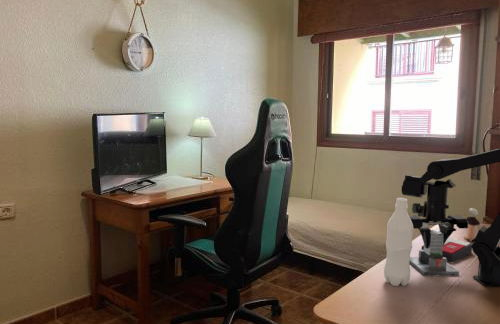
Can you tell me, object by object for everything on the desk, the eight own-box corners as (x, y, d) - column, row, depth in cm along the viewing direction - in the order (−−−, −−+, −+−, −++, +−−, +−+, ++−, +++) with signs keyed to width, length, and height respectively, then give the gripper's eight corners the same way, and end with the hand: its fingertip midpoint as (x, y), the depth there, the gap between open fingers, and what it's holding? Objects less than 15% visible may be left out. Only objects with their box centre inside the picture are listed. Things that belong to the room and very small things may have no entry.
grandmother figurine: (458, 237, 162) (461, 206, 160) (465, 236, 164) (467, 205, 162) (476, 243, 155) (479, 211, 154) (483, 242, 157) (486, 210, 155)
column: (442, 255, 128) (444, 234, 127) (430, 255, 128) (431, 234, 127) (435, 250, 133) (437, 230, 132) (423, 251, 133) (425, 230, 132)
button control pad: (421, 244, 144) (441, 234, 153) (420, 256, 144) (441, 245, 154) (452, 253, 135) (472, 241, 145) (452, 265, 136) (472, 253, 145)
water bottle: (411, 289, 115) (417, 202, 112) (384, 286, 117) (390, 201, 113) (407, 279, 122) (412, 196, 119) (382, 276, 124) (387, 195, 120)
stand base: (458, 275, 126) (460, 258, 125) (423, 275, 125) (424, 258, 124) (438, 260, 138) (440, 245, 137) (406, 260, 137) (407, 245, 136)
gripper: (452, 194, 137) (448, 239, 139) (397, 194, 136) (394, 239, 138) (471, 202, 126) (467, 251, 128) (411, 202, 125) (408, 251, 127)
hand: (433, 248), depth 130 cm, fingers closed on column, 4 cm apart
